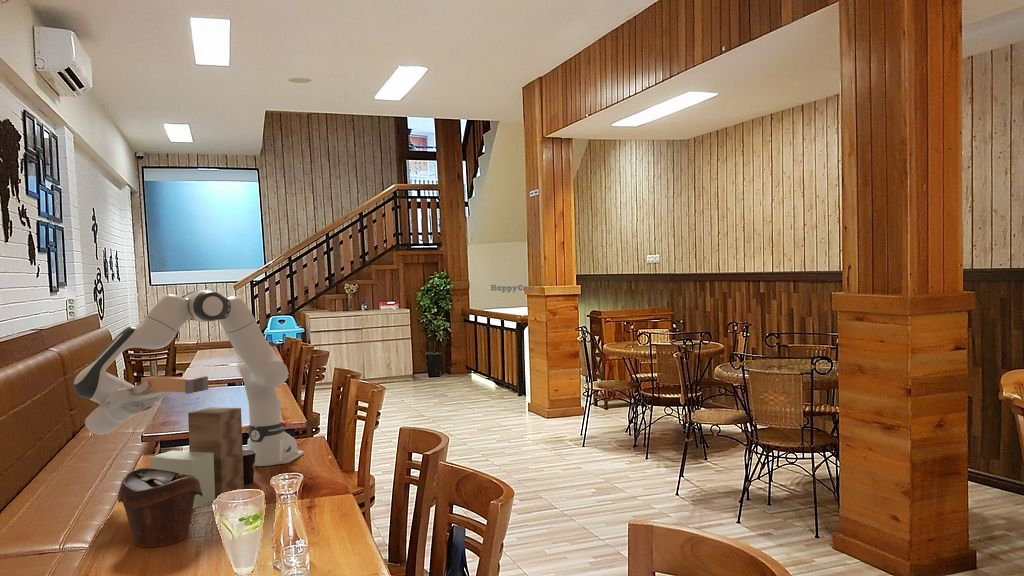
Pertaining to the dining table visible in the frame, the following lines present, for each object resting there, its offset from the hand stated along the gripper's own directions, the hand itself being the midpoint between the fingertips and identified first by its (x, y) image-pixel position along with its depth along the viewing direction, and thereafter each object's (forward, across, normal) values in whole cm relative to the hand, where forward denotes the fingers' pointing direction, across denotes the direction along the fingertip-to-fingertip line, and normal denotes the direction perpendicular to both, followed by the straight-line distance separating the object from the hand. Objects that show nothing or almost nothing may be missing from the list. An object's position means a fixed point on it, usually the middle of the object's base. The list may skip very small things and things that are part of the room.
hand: (156, 382), depth 223 cm
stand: (-8, +12, +37) cm, 40 cm away
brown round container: (+6, -27, +46) cm, 53 cm away
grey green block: (-10, 0, +36) cm, 38 cm away
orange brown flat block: (+4, 0, +5) cm, 7 cm away
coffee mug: (-7, +24, +38) cm, 46 cm away
